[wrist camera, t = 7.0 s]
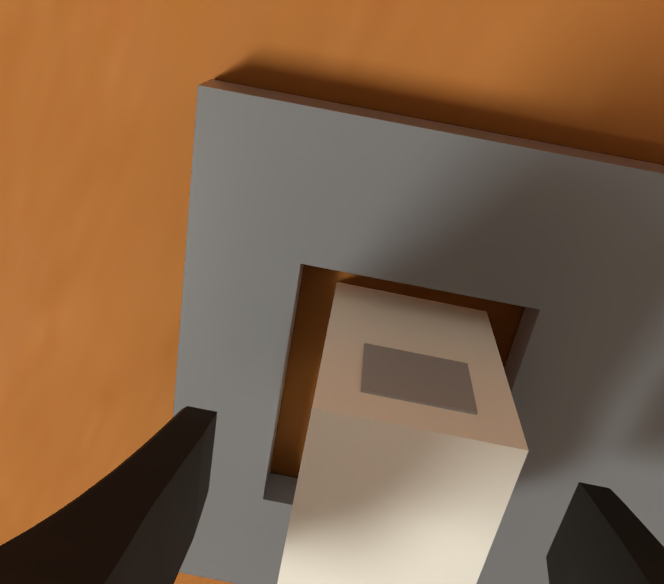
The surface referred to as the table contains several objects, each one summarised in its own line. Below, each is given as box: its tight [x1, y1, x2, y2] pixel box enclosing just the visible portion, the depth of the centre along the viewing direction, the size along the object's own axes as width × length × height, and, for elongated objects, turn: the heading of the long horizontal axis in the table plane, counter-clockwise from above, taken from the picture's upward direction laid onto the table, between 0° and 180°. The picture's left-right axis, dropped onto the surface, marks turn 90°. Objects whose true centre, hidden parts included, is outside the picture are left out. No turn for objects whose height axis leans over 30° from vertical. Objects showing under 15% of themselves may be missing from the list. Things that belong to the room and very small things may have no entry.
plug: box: [277, 282, 529, 584], centre depth 14 cm, size 7×4×5 cm, turn 170°
